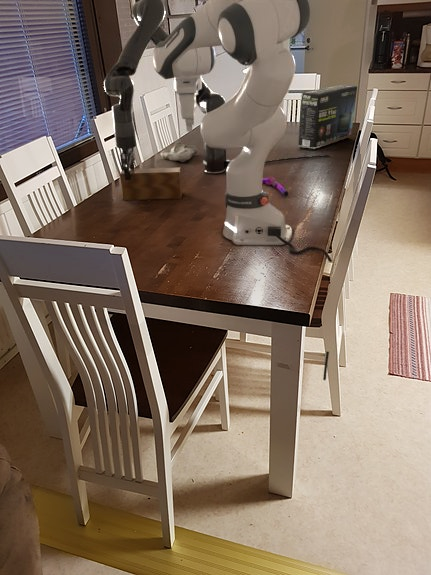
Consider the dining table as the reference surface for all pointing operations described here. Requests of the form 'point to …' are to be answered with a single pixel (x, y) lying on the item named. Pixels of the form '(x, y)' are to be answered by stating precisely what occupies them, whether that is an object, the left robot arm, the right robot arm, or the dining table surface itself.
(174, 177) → the box
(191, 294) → the dining table surface
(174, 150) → the fossil
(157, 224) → the dining table surface
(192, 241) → the dining table surface
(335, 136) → the router box
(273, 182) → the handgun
